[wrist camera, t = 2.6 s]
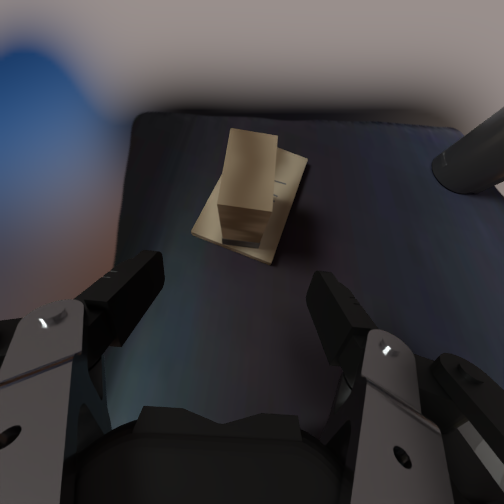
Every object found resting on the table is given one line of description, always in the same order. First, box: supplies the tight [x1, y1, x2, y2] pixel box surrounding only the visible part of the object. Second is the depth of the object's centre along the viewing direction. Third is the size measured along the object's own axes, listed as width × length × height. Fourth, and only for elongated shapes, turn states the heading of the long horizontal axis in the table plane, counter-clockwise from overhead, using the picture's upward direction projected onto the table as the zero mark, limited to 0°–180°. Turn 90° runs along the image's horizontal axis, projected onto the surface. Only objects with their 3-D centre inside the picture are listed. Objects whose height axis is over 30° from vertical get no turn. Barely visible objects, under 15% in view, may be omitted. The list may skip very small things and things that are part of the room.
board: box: [191, 148, 308, 265], centre depth 28 cm, size 12×20×1 cm, turn 159°
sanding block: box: [217, 128, 278, 249], centre depth 21 cm, size 5×9×10 cm, turn 174°
